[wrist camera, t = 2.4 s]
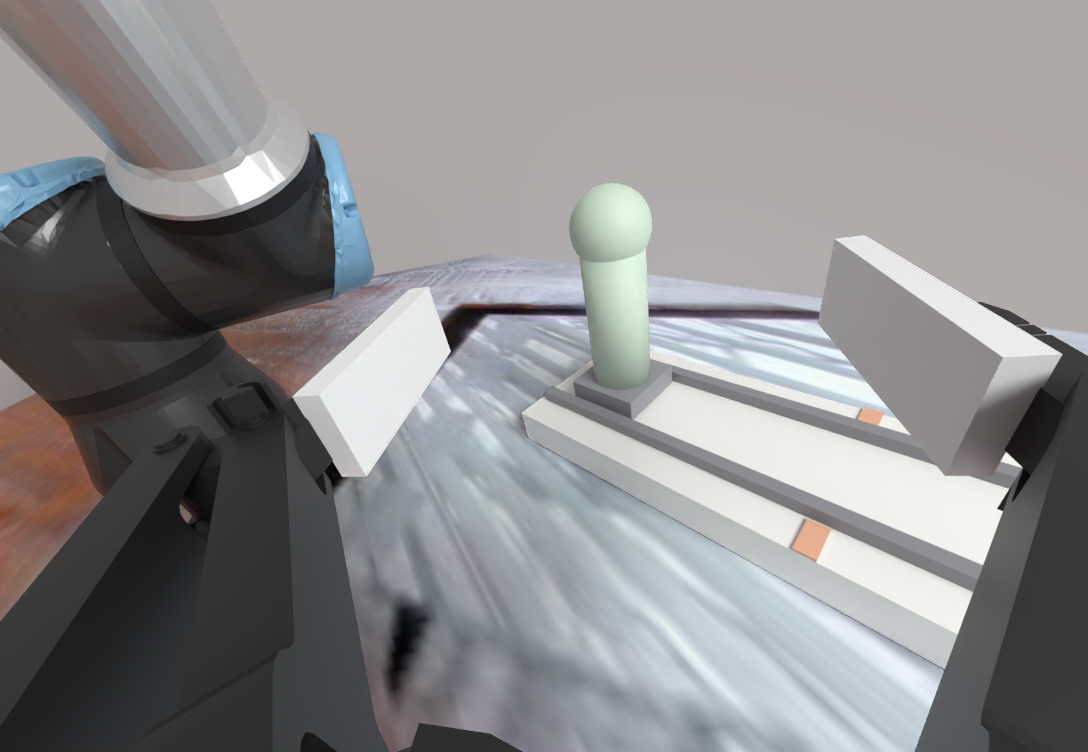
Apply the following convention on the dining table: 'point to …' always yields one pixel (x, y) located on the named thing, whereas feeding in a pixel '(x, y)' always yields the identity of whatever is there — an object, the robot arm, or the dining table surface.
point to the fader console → (797, 492)
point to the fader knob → (616, 300)
